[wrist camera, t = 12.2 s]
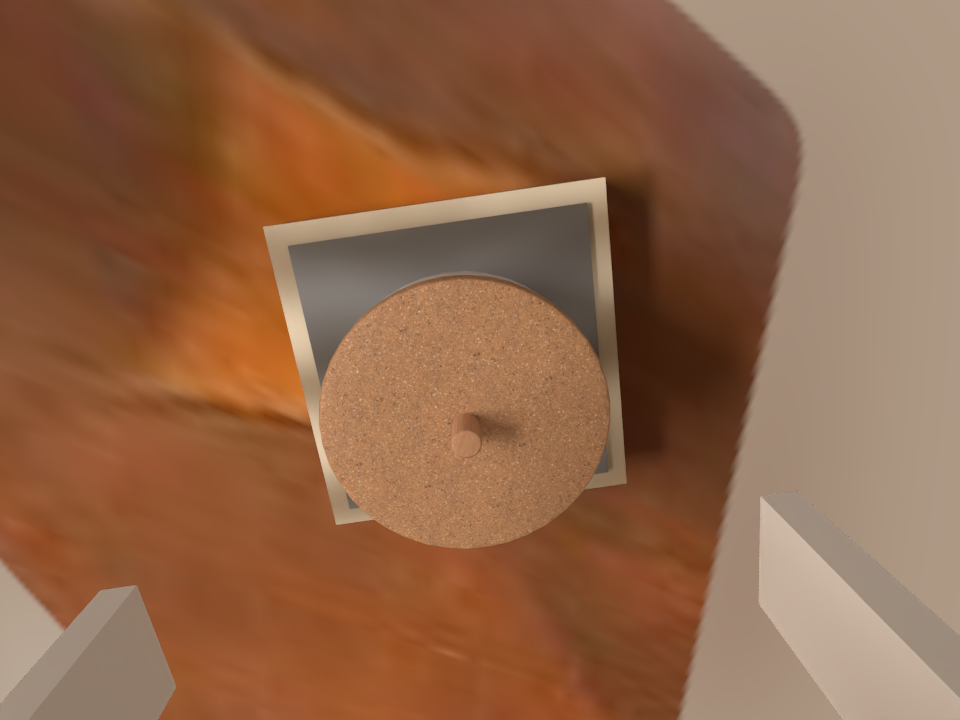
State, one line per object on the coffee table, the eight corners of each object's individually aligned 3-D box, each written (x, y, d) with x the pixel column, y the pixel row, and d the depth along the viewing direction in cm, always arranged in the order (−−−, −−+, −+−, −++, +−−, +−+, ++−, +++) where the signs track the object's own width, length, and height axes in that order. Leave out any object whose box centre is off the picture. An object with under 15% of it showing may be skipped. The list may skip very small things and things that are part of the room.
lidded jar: (603, 294, 27) (675, 344, 18) (528, 483, 30) (558, 608, 21) (389, 223, 26) (351, 239, 17) (331, 427, 28) (273, 536, 19)
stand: (282, 223, 29) (260, 227, 25) (590, 178, 29) (607, 177, 25) (346, 496, 33) (335, 528, 30) (612, 458, 33) (628, 486, 30)
